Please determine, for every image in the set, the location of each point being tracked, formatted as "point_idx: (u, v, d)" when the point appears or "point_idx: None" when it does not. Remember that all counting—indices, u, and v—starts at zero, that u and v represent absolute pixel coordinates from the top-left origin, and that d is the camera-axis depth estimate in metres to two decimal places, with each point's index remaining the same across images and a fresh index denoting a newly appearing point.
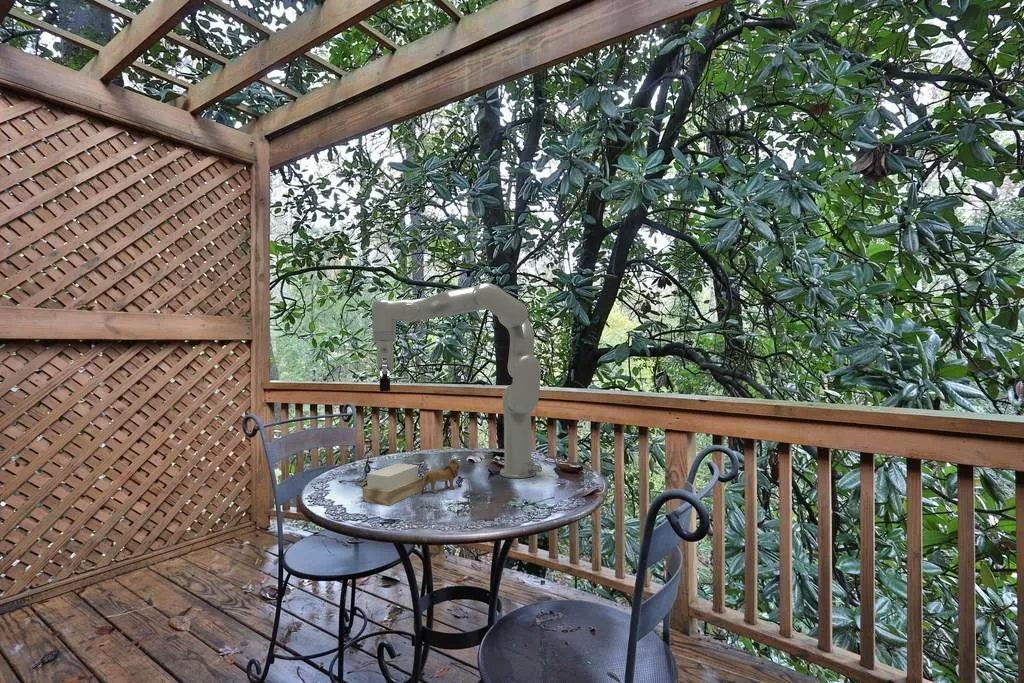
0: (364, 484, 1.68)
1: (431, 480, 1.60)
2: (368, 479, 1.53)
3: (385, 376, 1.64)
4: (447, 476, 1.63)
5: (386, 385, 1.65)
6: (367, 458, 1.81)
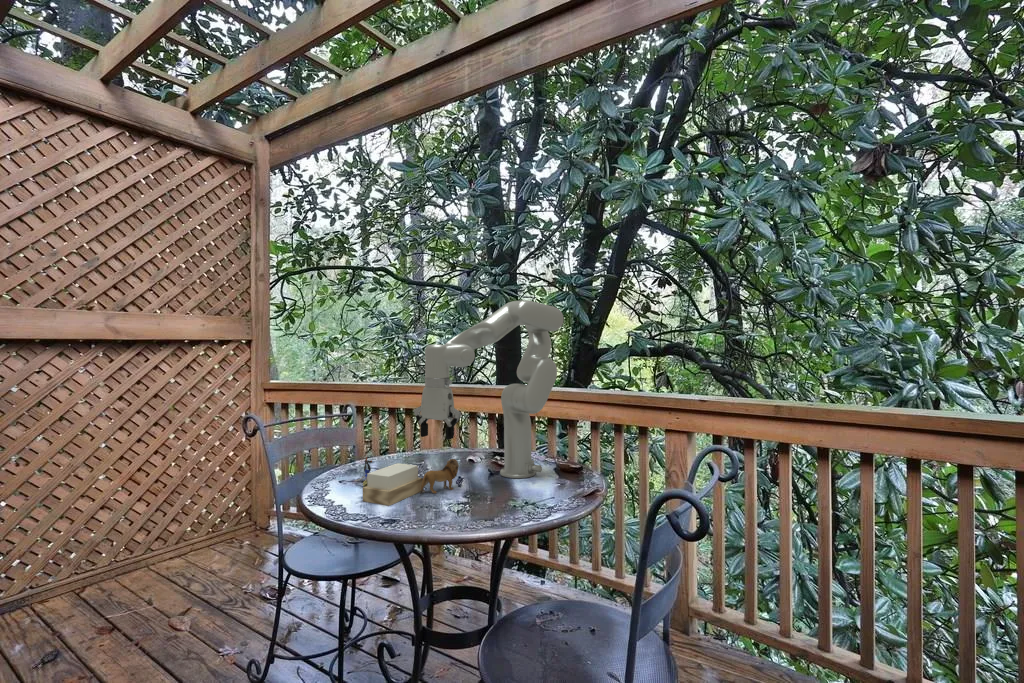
0: (365, 484, 1.68)
1: (430, 480, 1.60)
2: (368, 479, 1.53)
3: (455, 423, 1.61)
4: (446, 476, 1.63)
5: (453, 432, 1.61)
6: (366, 458, 1.81)
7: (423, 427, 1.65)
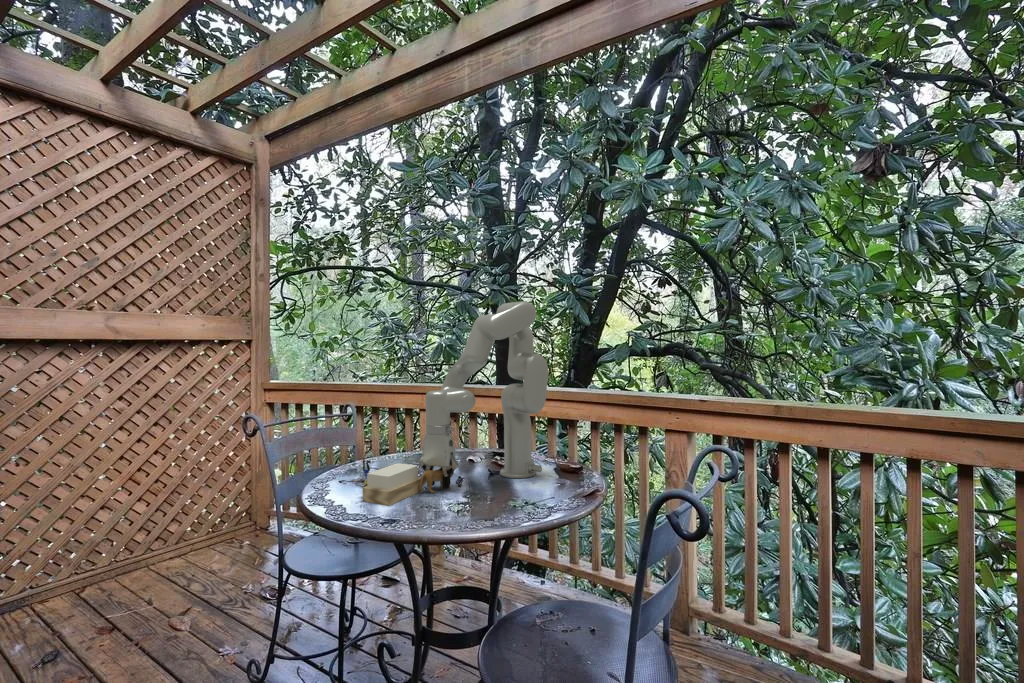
0: (365, 484, 1.68)
1: (428, 480, 1.60)
2: (368, 479, 1.53)
3: (451, 473, 1.62)
4: None
5: (449, 482, 1.63)
6: (363, 458, 1.81)
7: None
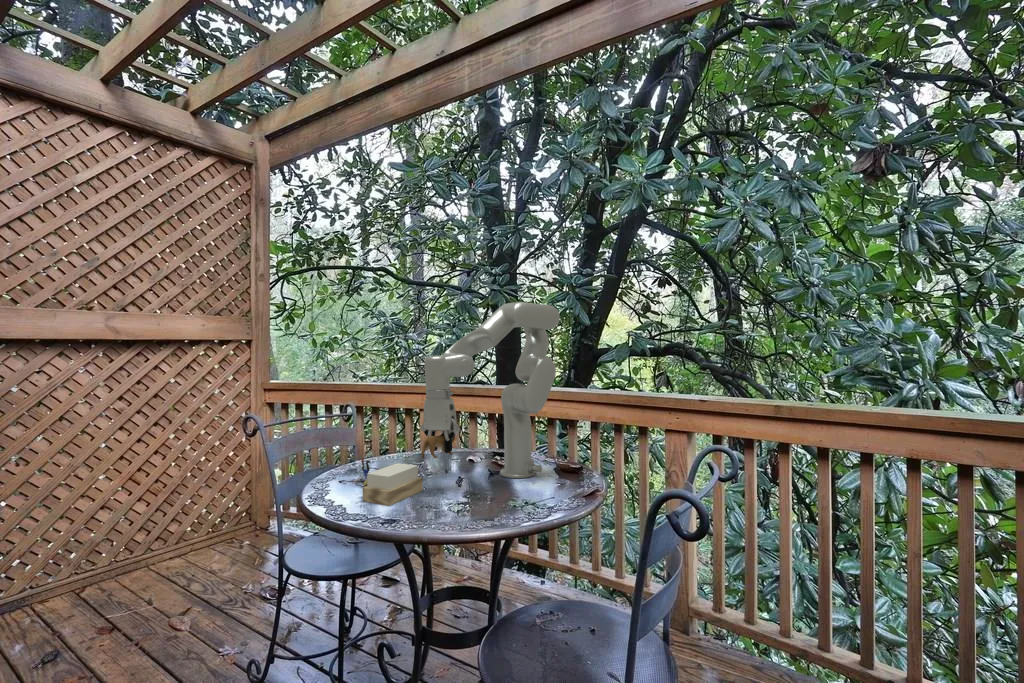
0: (366, 484, 1.68)
1: (431, 445, 1.60)
2: (368, 479, 1.53)
3: (452, 437, 1.62)
4: None
5: (451, 446, 1.63)
6: (362, 458, 1.81)
7: None
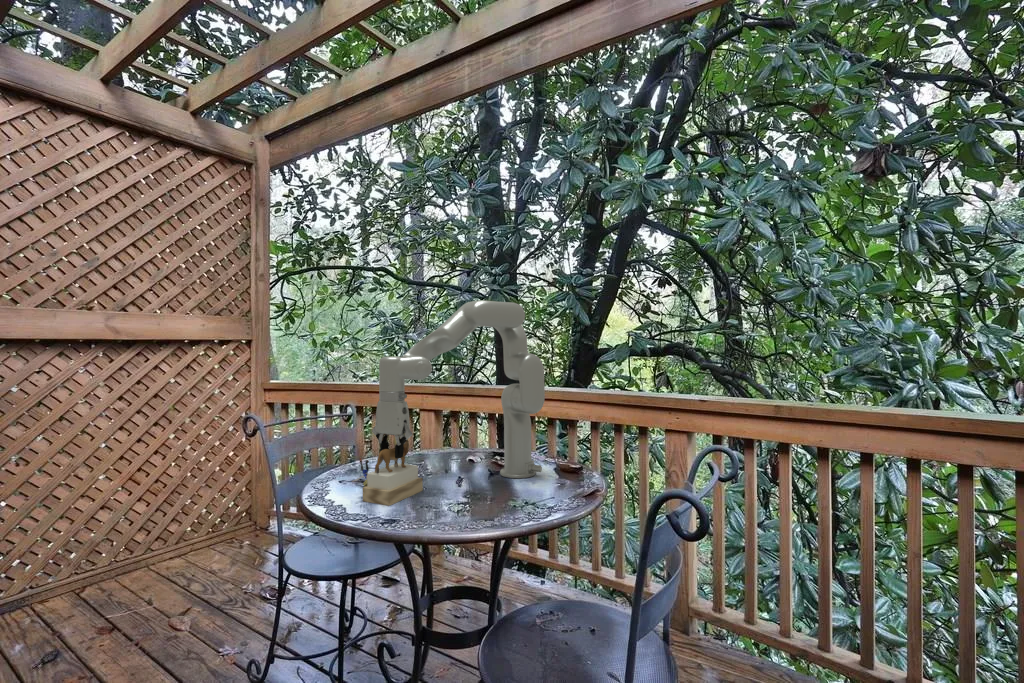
0: None
1: (386, 459, 1.54)
2: (368, 479, 1.53)
3: (404, 442, 1.56)
4: None
5: (402, 451, 1.56)
6: (360, 458, 1.81)
7: (383, 446, 1.58)
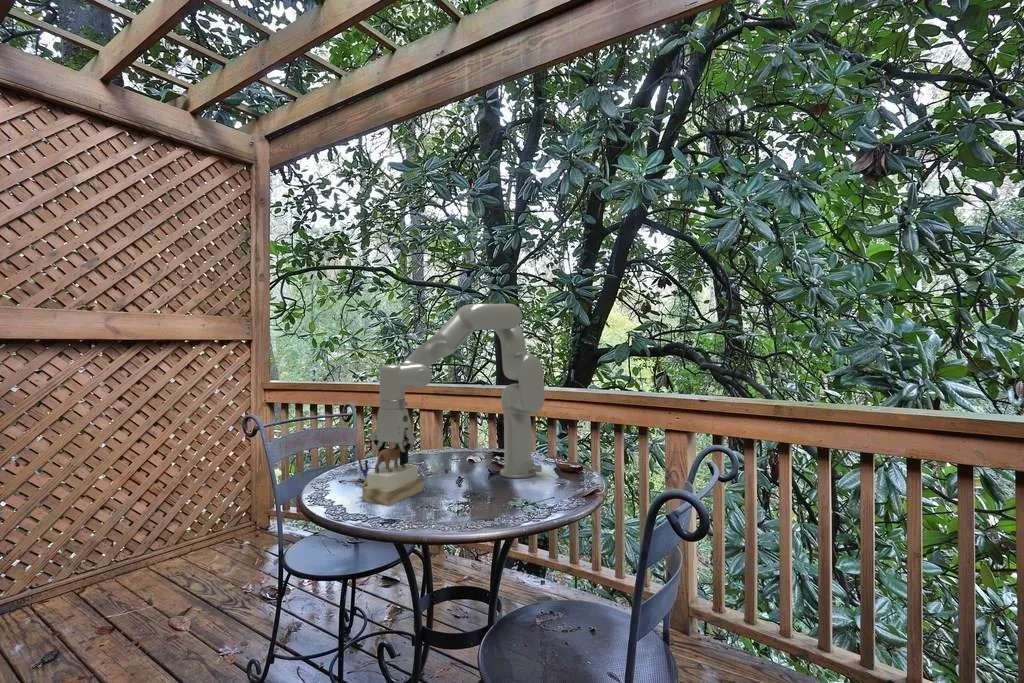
0: None
1: (386, 459, 1.54)
2: (368, 479, 1.53)
3: (408, 448, 1.56)
4: None
5: (407, 458, 1.56)
6: (358, 458, 1.81)
7: None
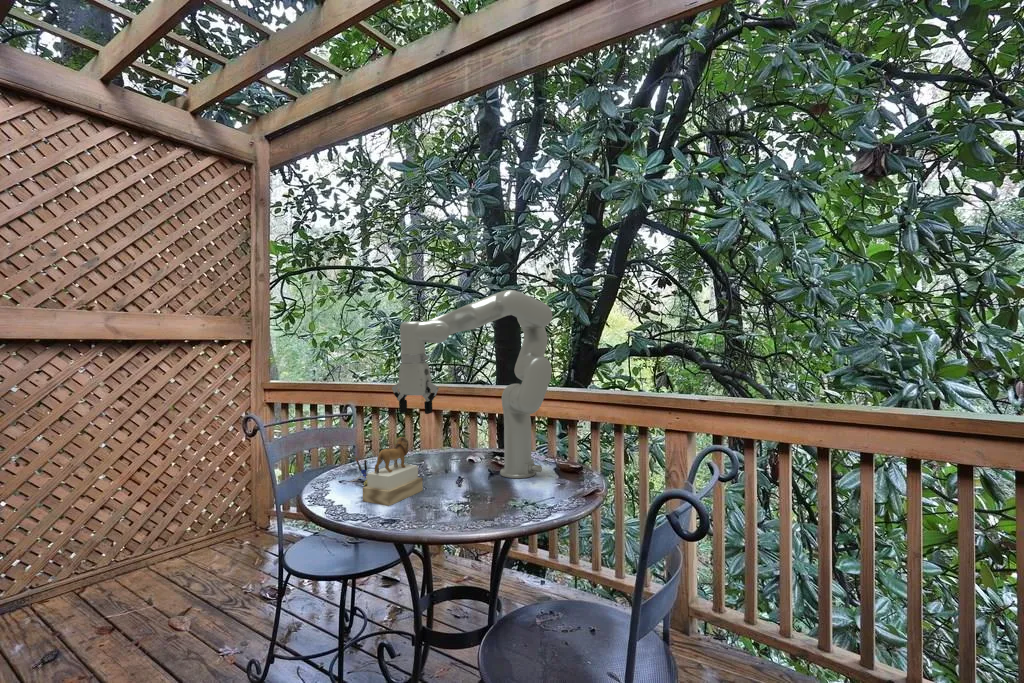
0: None
1: (386, 459, 1.54)
2: (368, 479, 1.53)
3: (432, 398, 1.64)
4: (399, 454, 1.59)
5: (431, 407, 1.64)
6: (356, 458, 1.81)
7: (402, 403, 1.67)
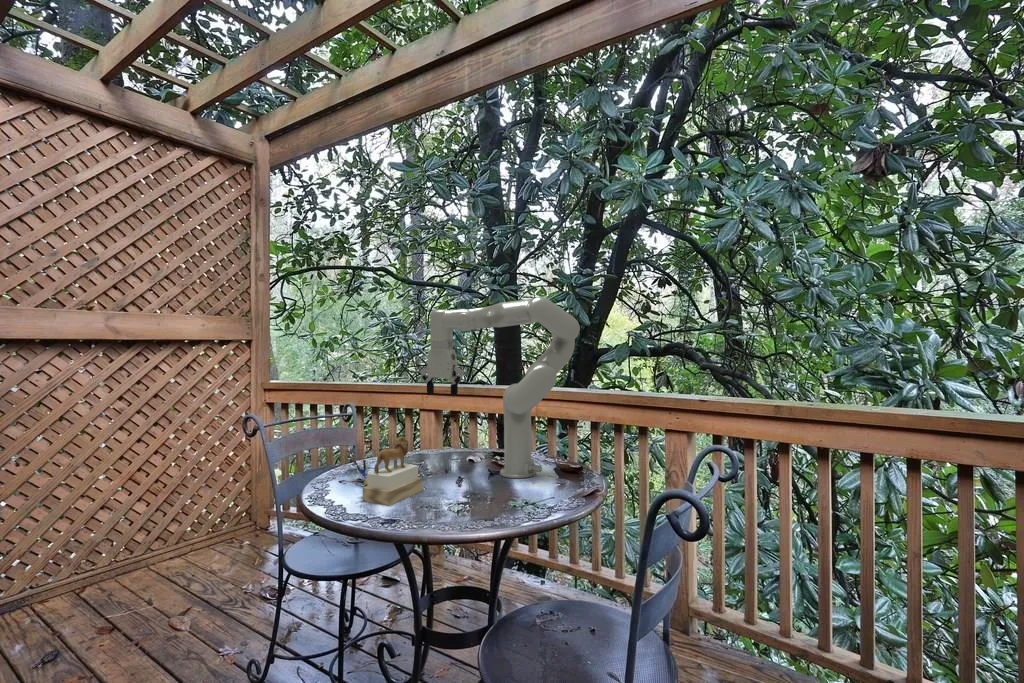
0: (366, 483, 1.69)
1: (386, 459, 1.54)
2: (368, 479, 1.53)
3: (458, 381, 1.76)
4: (399, 454, 1.58)
5: (457, 390, 1.76)
6: (353, 459, 1.81)
7: (429, 386, 1.79)
